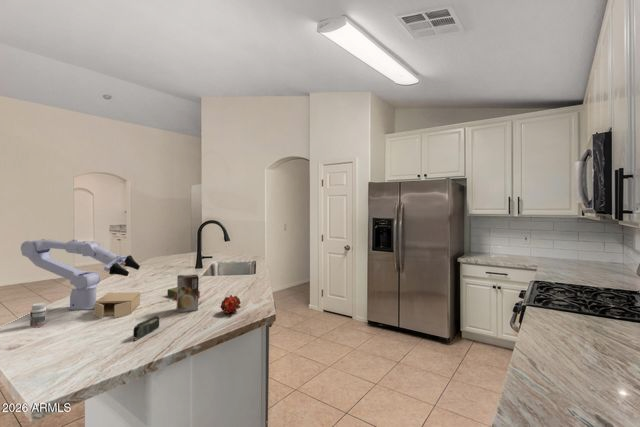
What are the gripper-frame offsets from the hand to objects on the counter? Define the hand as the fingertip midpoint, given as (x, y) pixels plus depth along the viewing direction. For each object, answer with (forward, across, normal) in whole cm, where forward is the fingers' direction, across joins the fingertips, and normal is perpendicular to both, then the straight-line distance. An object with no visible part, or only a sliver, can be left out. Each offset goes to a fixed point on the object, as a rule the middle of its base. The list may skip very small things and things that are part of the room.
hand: (133, 270), depth 150 cm
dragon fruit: (+49, +2, -1) cm, 49 cm away
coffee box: (+30, +2, +7) cm, 30 cm away
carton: (+20, +20, +16) cm, 33 cm away
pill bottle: (-14, -29, +20) cm, 38 cm away
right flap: (+8, -13, +13) cm, 20 cm away
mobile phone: (+26, -28, +2) cm, 38 cm away
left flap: (0, -16, +16) cm, 23 cm away
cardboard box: (+2, -5, +18) cm, 19 cm away
